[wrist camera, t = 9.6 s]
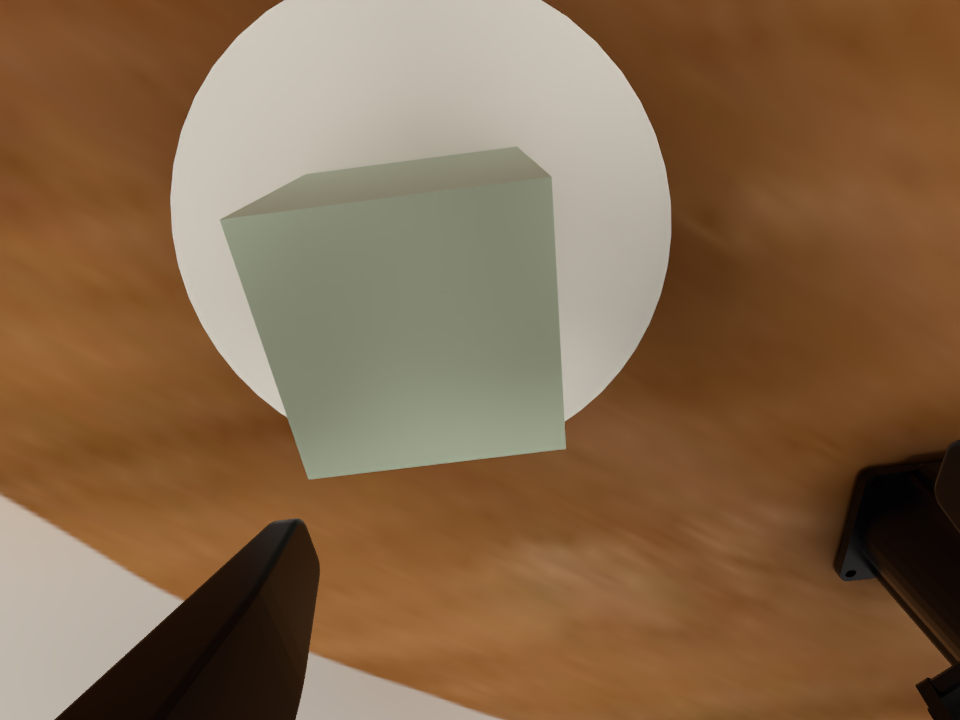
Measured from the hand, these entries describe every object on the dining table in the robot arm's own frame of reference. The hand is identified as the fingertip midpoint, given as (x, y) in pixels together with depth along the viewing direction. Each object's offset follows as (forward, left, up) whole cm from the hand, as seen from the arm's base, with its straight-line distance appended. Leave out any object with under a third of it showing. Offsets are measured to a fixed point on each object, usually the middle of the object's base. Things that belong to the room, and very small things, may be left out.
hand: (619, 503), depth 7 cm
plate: (+1, +3, -12) cm, 12 cm away
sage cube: (+1, +3, -10) cm, 11 cm away
